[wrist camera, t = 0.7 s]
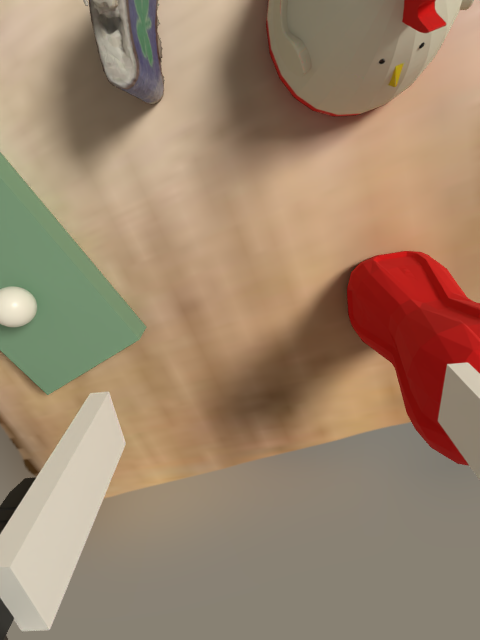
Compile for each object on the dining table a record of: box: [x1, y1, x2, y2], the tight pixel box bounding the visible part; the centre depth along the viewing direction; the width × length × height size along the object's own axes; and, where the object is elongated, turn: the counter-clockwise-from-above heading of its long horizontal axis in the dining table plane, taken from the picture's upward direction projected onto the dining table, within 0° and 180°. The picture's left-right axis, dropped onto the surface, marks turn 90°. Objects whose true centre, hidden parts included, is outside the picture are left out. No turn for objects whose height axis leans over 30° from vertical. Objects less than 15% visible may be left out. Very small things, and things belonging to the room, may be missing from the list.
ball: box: [0, 286, 37, 327], centre depth 35 cm, size 4×4×4 cm
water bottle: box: [347, 251, 480, 465], centre depth 28 cm, size 9×11×25 cm
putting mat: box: [0, 153, 146, 395], centre depth 37 cm, size 28×14×3 cm, turn 33°
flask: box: [84, 0, 165, 104], centre depth 25 cm, size 9×3×11 cm, turn 179°
